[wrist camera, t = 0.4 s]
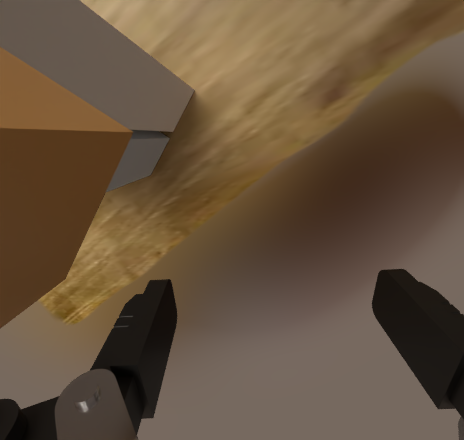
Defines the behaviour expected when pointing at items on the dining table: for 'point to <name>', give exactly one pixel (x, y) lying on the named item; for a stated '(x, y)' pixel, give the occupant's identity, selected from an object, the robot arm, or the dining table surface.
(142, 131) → the grey box
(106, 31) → the tall pale grey pillar
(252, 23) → the dining table surface
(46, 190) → the bar
